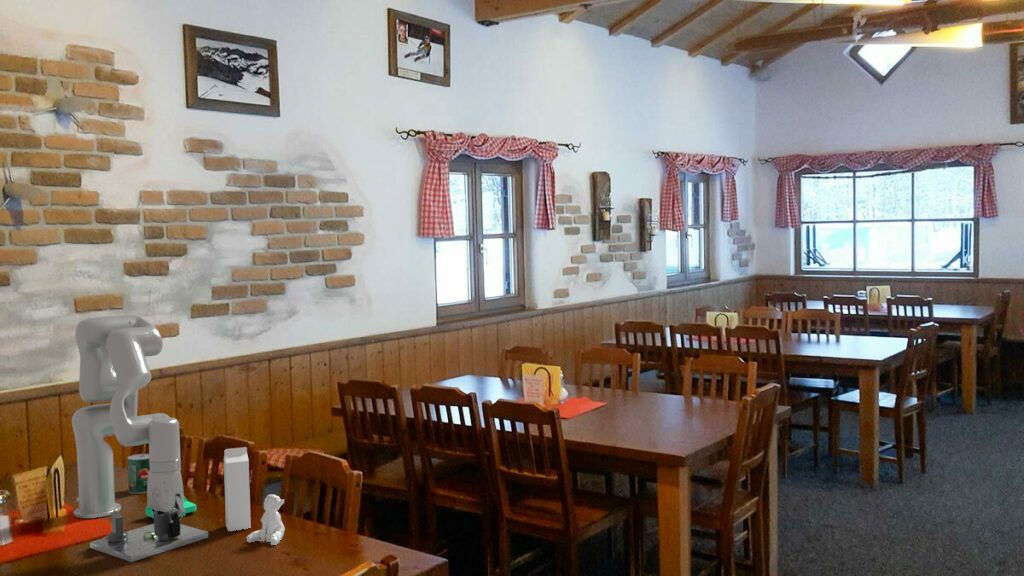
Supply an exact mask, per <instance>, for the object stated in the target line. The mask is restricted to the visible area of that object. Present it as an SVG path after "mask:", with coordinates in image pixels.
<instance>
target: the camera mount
mask: <svg viewBox="0 0 1024 576" xmlns="http://www.w3.org/2000/svg"><path fill="white" fill-rule="evenodd" d="M184 508H185V513H184V514H183V515H182V517H181V518H184V517H183V516H185V517H186V514H188V513H192V512H196V511H197V504H195V503H193V502H190V501H189V500H188V499H187V498H186V496H184ZM173 509H174V508H173ZM144 511H145V515H146V516H148V517H150V518H152V519H154V517H153V515H154V513H153V511H152V509H151V508H149V507H148V505H147V504H146V507H145V510H144Z"/></svg>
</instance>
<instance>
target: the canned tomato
mask: <svg viewBox="0 0 1024 576" xmlns="http://www.w3.org/2000/svg"><path fill="white" fill-rule="evenodd" d="M149 471H150V463H149V453H137V454H132V455H130V456H128V457H127V475H128V476H127V479H128V483H127V484H128V493H130V494H131V495H134V494H135V495H138V494H139V495H141V494H142V495H143V494H147V484H148V475H149Z"/></svg>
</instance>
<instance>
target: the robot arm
mask: <svg viewBox="0 0 1024 576" xmlns="http://www.w3.org/2000/svg"><path fill="white" fill-rule="evenodd" d="M74 337H75V342H76V345H77V348H78V352H79V382H78V384H79V385H78V389H79V390H78V391H79V396H80V398H81V400H82V401H84V402H86V403H91V404H92V403H100V404H93V405H88V406H84V407H81V408H78V409H77V410H76V411H75V412H74V413H73V415H72V418H71V426H72V431H73V435H74V439H75V447H76V458H77V459H76V460H77V478H78V479H77V481H78V484H77V485H78V497H77V498H76V502H77V503H78V504H79V505H78V506H79V507H78V508H76V509H74V510H73V516H74V517H75V516H76V518H78V517H79V518H80V519H96V518H97V517H98V518H103V517H107V516H111V513H112V512H113V510H118V511H119V512H120V511H121V509H122V506H121V504H120V503H117V502H116V500H115V499H116V493H115V474H114V473H115V469H114V468H115V467H114V452H113V449H112V447H111V446H110V445H109V443H108V442H107V441H105V439H104V438H105V437H109V436H115V438H116V440H117V442H118V443H119V445H121V446H123V447H129V448H130V447H135V446H136V447H137V446H141V445H145V444H146V445H147V444H148V454H149V463H150V471H149V475H148V484H147V493H146V503H147V504H146V506H147V505H148V507H149V508H151V509H152V511H153V513H154V515H153V517H154V516H155V515H159V514H162V513H168V518H169V523H168V538H173V537H176V536H179V535H180V524H181V520H182V518H183V517H182V515H183V514H184V513H185V508H184V497H185V495H184V484H183V478H182V473H181V470H182V468H181V466H182V465H181V442H180V435H181V434H180V421H179V420H178V419H177V418H176V417H170V416H169V415H168V414H166V413H164V412H163V413H162V412H158V413H157V412H156V413H151V414H142V415H138V403H139V402H138V401H139V390H141V389H143V388H144V387H145V386H147V385H148V384H149V383H150V381H151V380H152V373H151V371H150V368H149V365H148V361H147V358H146V357H156V356H157V355H160V353H161V352H162V350H163V346H164V343H163V337H162V335H161V332H160V331H159V330H158V328H157V327H156V326H155V325H153V324H152V323H151V322H149V321H147V320H146V319H145V318H143V317H141V316H140V315H135V314H132V315H131V314H129V315H127V314H126V315H112V316H97V317H90V318H85V319H83V320H81V321H79V322H78V323H77V325H76V328H75V336H74ZM109 401H110V403H102V402H109ZM173 508H175V509H174V510H173ZM172 512H175V514H174V515H173V516H172ZM185 514H186V513H185ZM79 518H78V519H79ZM98 518H97V519H98Z"/></svg>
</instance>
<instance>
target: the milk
mask: <svg viewBox="0 0 1024 576" xmlns="http://www.w3.org/2000/svg"><path fill="white" fill-rule="evenodd" d="M223 452H224V456H223V477H224V479H223V480H224V502H225V503H224V504H225V505H224V507H225V508H224V509H225V526H226V529H227V532H229V531H230V532H233V531H234V532H235V531H236V530H237V531H243V530H242V529H244V530H249V529H248V528H252V526H251V523H252V522H251V521H252V520H251V519H252V518H251V496H250V493H251V492H250V469H249V468H250V464H249V463H250V461H249V456H248V447H246V446H245V447H234V448H226V449H225V450H224V451H223Z"/></svg>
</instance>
